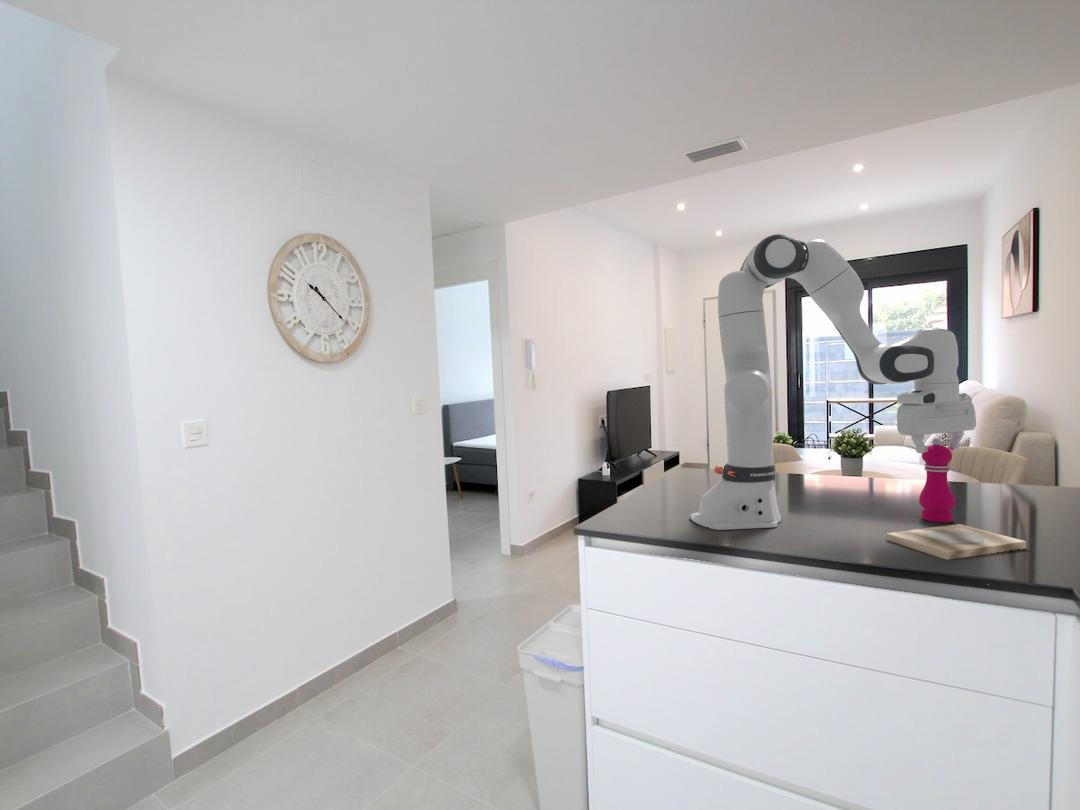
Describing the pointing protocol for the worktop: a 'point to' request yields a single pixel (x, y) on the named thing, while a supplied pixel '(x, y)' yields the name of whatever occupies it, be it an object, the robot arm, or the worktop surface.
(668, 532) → the worktop surface
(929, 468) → the pepper mill
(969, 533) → the oak board
